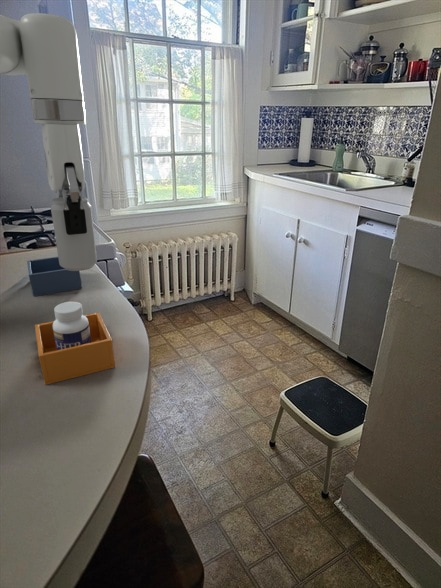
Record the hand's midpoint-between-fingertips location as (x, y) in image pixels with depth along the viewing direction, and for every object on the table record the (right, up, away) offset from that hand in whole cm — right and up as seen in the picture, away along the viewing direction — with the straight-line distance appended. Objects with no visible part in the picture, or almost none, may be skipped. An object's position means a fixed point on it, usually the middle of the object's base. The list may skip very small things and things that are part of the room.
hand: (73, 227), depth 67 cm
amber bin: (+2, -22, -4) cm, 22 cm away
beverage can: (0, -7, +3) cm, 7 cm away
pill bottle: (+2, -22, -4) cm, 22 cm away
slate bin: (-13, -9, +24) cm, 29 cm away
